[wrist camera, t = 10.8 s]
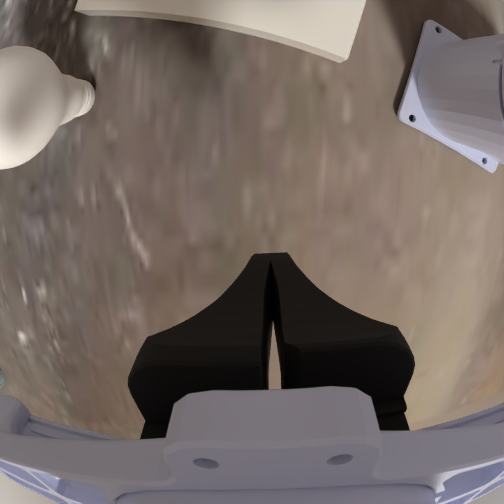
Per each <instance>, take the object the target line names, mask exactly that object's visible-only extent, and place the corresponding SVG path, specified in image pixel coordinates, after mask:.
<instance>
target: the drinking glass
mask: <svg viewBox="0 0 504 504" xmlns="http://www.w3.org/2000/svg"><path fill="white" fill-rule="evenodd" d="M4 381H5V378H4V374H3V372H2V370H1V369H0V390H1V388H2V386H3V384H4Z"/></svg>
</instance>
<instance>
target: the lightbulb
mask: <svg viewBox="0 0 504 504" xmlns="http://www.w3.org/2000/svg"><path fill="white" fill-rule="evenodd" d="M94 100H95V91H94V88H93V86H92V85H91V83H89V82H88V81H86V80H82V79H76V78H75V77H73V76H71V75H65V74H62V73H61V72H60V70H59V69H58V67H57V66H56V65H55V63H54V62H53V61H52V59H51V58H50V57H49V56H47V55H46V54H45V53H43V52H41V51H39V50H37V49H35V48H32V47H28V46H12V47H8V48H4V49H0V169H8V168H13V167H16V166H19V165H21V164H23V163H25V162H27V161H29V160H30V159H31V158H33V157H34V156H35V155H36V154H37V153H39V152H40V151H41V150H42V149H43V148H44V147H45V146H46V144H47V143H48V142H49V141H50V139H51V138H52V136H53V135H54V133H55V132H56V130H57V128H58V126H60V125H62V124H65V123H67V122H69V121H70V120H72V119H73V118H74V117H78V116H81V115H83V114H85V113H87V112H88V111H89V110H90V109H91V107H92V105H93V103H94Z"/></svg>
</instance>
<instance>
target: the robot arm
mask: <svg viewBox="0 0 504 504" xmlns="http://www.w3.org/2000/svg"><path fill="white" fill-rule="evenodd" d="M435 28H438V30H439V33H437V32H436V30H435ZM410 115H413V121H410V120H409V116H410ZM397 116H398V119H399V120H400V121H402V122H403V123H406V124H408V125H410V126H411V127H413V128H415V129H417V130H419V131H421V132H423V133H425V134H427V135H429V136H431V137H432V138H434V139H436V140H438V141H440V142H441V143H443V144H445V145H447V146H448V147H450V148H452V149H454V150H455V151H457V152H459V153H460V154H462V155H464V156H465V157H467V158H468V159H470V160H472V161H473V162H475V163H476V164H478V165H479V166H481V167H482V168H484V169H486V170H487V171H489V172H491V173H493V172H495V170H496V168H497V166H498V163H501V164H504V34H499V35H491V36H484V37H478V38H471V39H466V40H463V39H461V38H460V37H458V36H457V35H455V34H454V33H452V32H451V31H449V30H448V29H446V28H445V27H443V26H442V25H440V24H438V23H437V22H435V21H433V20H427V21H425V22H424V25H423V29H422V33H421V37H420V40H419V44H418V47H417V51H416V54H415V58H414V61H413V65H412V68H411V71H410V75H409V78H408V81H407V84H406V87H405V90H404V94H403V97H402V100H401V103H400V106H399V109H398V112H397ZM483 158H484V162H483V163H482V159H483ZM273 322H274V329H275V336H276V342H277V349H278V355H279V362H280V371H281V389H278V390H269V379H268V373H269V358H270V348H271V337H272V326H273ZM414 367H415V361H414V356H413V354H412V352H411V350H410V347H409V345H408V343H407V342H406V340H405V338H404V337H403V335H402V334H401V332H400V331H399V329H398V327H396V326H393V325H389V324H386V323H383V322H380V321H376V320H373V319H371V318H368V317H366V316H363V315H361V314H359V313H357V312H355V311H352V310H350V309H349V308H347V307H345V306H343V305H341V304H340V303H338V302H336V301H335V300H333V299H332V298H330V297H329V296H328V295H326V294H325V293H324V292H322V291H321V290H320V289H318V288H317V287H316V286H315V285H314V284H313V283H312V282H311V281H310V280H309V279H308V278H307V277H306V276H305V275H304V273H303V272H302V271H301V270H300V269H299V268H298V266H297V265H296V264H295V263H294V261H293V260H292V258H291V257H290V255H289V254H288V253H287V252H285V253H262V254H254V255H253V256H252V257H251V258H250V260H249V262H248V264H247V265H246V267H245V268H244V270H243V271H242V272H241V274H240V275H239V276H238V278H237V279H236V280H235V281H234V282H233V284H232V285H231V286H230V287H229V288H228V289H227V290H226V291H225V292H224V293H223V294H222V295H221V296H220V297H219V298H218V299H217V300H216V301H215V302H213V303H212V304H211V305H209V306H208V307H206V308H205V309H204V310H202V311H201V312H199V313H198V314H196V315H195V316H193V317H191V318H190V319H188V320H186V321H184V322H182V323H180V324H178V325H176V326H174V327H172V328H170V329H167V330H165V331H162V332H159V333H157V334H154V335H152V336H149V337H147V338H146V340H145V342H144V344H143V345H142V347H141V349H140V351H139V353H138V355H137V357H136V360H135V362H134V364H133V367H132V369H131V372H130V374H129V377H128V387H129V390H130V393H131V395H132V397H133V399H134V401H135V403H136V405H137V406H138V408H139V410H140V412H141V414H142V416H143V417H144V419H145V424H144V427H143V431H142V434H141V438H140V439H138V440H133V439H127V438H121V437H116V436H111V435H106V434H101V433H96V432H92V431H87V430H83V429H79V428H75V427H71V426H67V425H64V424H60V423H56V422H53V421H50V420H46V419H43V418H40V417H37V416H34V415H31V414H30V412H29V410H28V409H27V408H26V406H25V405H24V404H23V403H22V402H21V401H19V400H18V399H16V398H14V397H11V396H8V395H6V394H3V393H0V471H1V472H2V473H3V474H4V475H5V476H7V477H8V478H9V479H11V480H13V481H14V482H16V483H18V484H20V485H22V486H24V487H26V488H28V489H30V490H32V491H34V492H36V493H38V494H40V495H42V496H44V497H46V498H48V499H50V500H52V501H55V502H57V503H59V504H467V503H469V502H471V501H473V500H475V499H477V498H479V497H480V496H483V495H485V494H487V493H489V492H490V491H492V490H494V489H496V488H498V487H500V486H501V485H503V484H504V403H503V404H500V405H497V406H494V407H492V408H489V409H486V410H483V411H481V412H478V413H475V414H472V415H469V416H466V417H463V418H459V419H456V420H453V421H449V422H446V423H442V424H439V425H435V426H431V427H428V428H423V429H419V430H415V431H410V430H409V426H408V423H407V420H406V417H405V414H404V412H406V410H407V405H406V402H405V400H404V394H405V392H406V390H407V387H408V385H409V383H410V380H411V378H412V375H413V372H414Z"/></svg>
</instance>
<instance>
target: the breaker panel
mask: <svg viewBox="0 0 504 504" xmlns="http://www.w3.org/2000/svg"><path fill="white" fill-rule="evenodd" d="M365 3H366V0H78V1H77V4H76V7H75V10H74V11H77V12H80V13H82V14H85V15H88V16H125V17H142V18H153V19H163V20H172V21H180V22H187V23H193V24H200V25H206V26H211V27H216V28H222V29H226V30H231V31H236V32H240V33H245V34H249V35H253V36H257V37H261V38H264V39H268V40H272V41H275V42H279V43H282V44H286V45H289V46H292V47H295V48H299V49H302V50H305V51H308V52H311V53H314V54H316V55H319V56H322V57H325V58H328V59H330V60H333V61H336V62H338V63H341V62H343V61H345V60H347V59H348V57H349V54H350V50H351V47H352V44H353V41H354V38H355V35H356V32H357V28H358V25H359V22H360V19H361V16H362V12H363V9H364V6H365Z"/></svg>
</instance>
